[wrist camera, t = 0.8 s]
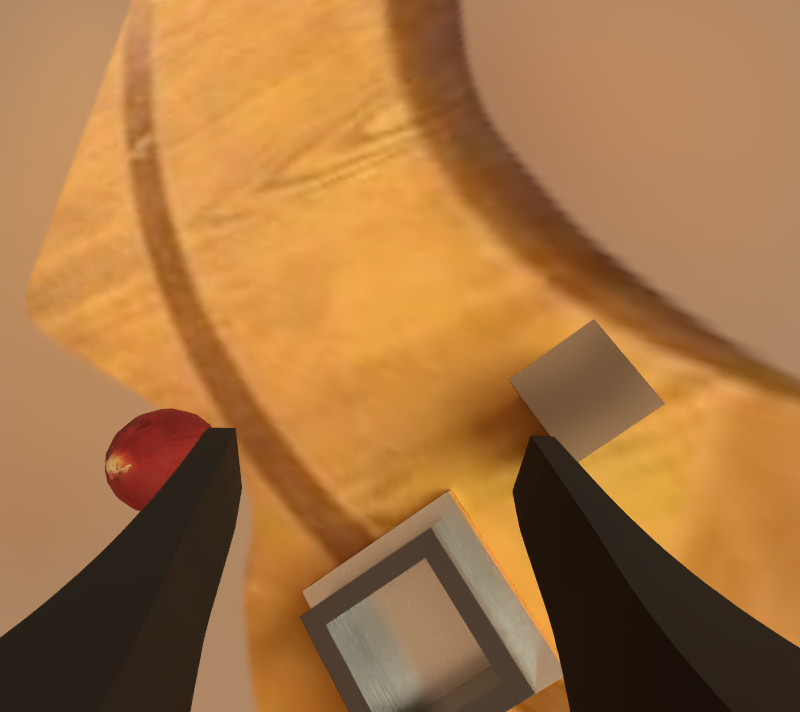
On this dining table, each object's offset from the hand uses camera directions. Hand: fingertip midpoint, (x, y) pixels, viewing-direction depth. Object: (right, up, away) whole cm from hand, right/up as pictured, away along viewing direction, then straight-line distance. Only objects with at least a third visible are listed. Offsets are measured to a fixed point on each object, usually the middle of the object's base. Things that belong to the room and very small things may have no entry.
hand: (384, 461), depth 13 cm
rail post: (+10, 0, +14) cm, 17 cm away
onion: (-12, -4, +20) cm, 24 cm away
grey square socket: (+2, -12, +15) cm, 19 cm away
